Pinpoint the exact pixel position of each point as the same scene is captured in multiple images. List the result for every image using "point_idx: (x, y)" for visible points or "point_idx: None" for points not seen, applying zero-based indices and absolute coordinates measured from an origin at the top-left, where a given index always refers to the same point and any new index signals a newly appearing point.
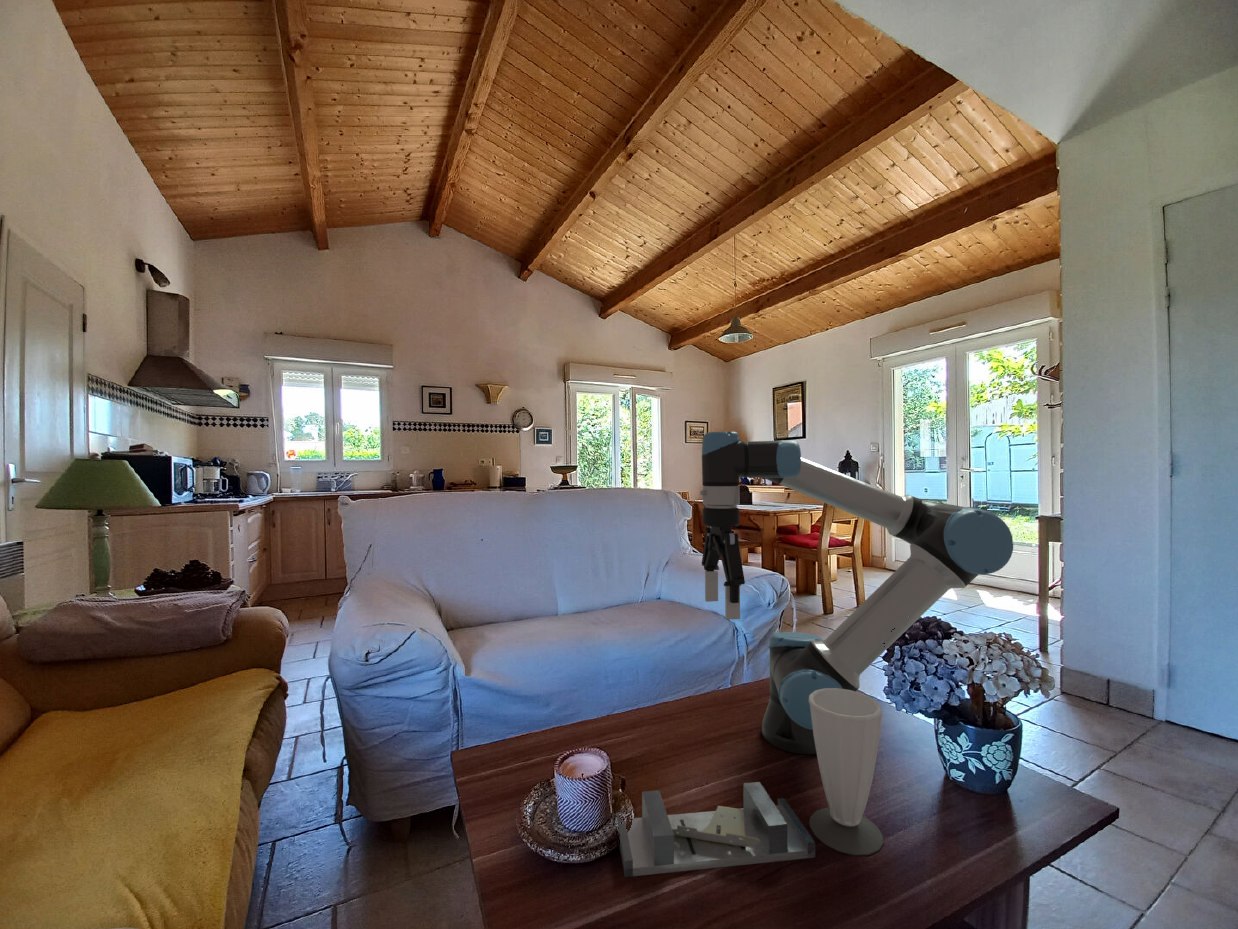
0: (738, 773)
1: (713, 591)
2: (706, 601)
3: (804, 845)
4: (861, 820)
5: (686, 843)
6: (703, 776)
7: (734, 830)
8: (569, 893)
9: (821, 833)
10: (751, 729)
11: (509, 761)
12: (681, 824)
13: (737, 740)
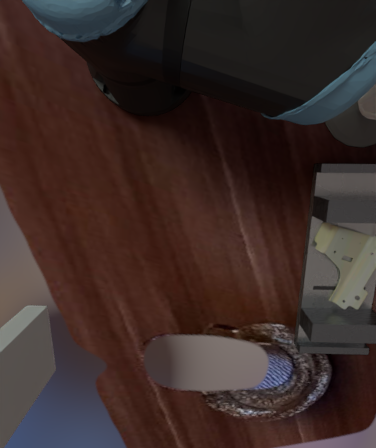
0: (228, 190)
1: (11, 378)
2: (54, 369)
3: None
4: None
5: None
6: (226, 236)
7: (354, 243)
8: (362, 385)
9: (365, 138)
10: (115, 125)
11: (163, 429)
12: (321, 289)
13: (146, 161)
